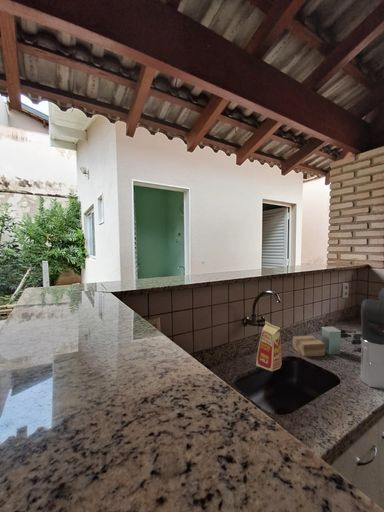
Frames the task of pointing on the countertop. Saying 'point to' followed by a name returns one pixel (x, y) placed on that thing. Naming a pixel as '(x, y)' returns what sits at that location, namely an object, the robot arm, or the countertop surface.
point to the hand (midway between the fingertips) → (346, 338)
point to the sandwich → (308, 346)
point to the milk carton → (269, 348)
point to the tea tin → (331, 339)
